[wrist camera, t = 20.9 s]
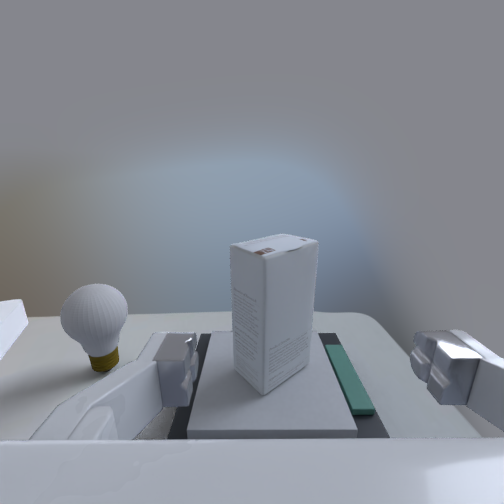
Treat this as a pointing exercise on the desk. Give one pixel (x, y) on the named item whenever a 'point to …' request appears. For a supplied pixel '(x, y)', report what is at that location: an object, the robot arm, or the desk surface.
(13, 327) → the white u-slot block
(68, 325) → the light bulb
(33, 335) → the desk surface
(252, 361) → the cosmetic box
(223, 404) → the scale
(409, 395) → the desk surface
